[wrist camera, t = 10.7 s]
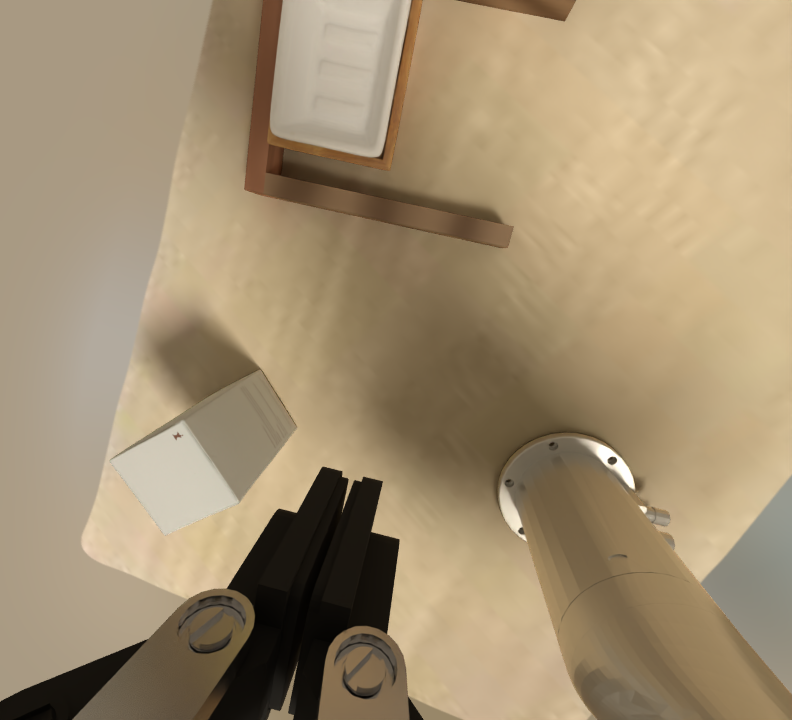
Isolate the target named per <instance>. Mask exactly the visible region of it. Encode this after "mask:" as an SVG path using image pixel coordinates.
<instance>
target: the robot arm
mask: <svg viewBox="0 0 792 720" xmlns="http://www.w3.org/2000/svg"><path fill="white" fill-rule="evenodd" d="M551 442H553V443H552V444H550V443H551ZM508 479H509V480H508ZM382 483H383V481H379V480H375V479H371V478H367V477H363V479H362V482H360V481H356V480H354V482H353V485H352V488H351V490H350V493H349V496H348V498H347V501H346V504H345V506H344V509H343V505H344V500H345V495H346V490H347V485H348V478H344V477H342V471H339V470H335V469H331V468H327V467H322V468H321V470H320V472H319V474H318V475H317V477H316V479H315V481H314V483H313V485H312V486H311V488H310V490H309V492H308V494H307V495H306V497H305V499H304V501H303V503H302V505H301V506H300V508H299V510H298V512H297V513H294V512H290V511H286V510H283V509H278V510H277V511H276V512H275V513H274V515H273V516H272V518H271V520H270V521H269V523H268V524H267V526H266V527H265V529H264V531H263V532H262V534H261V535H260V537H259V539H258V540H257V542H256V543H255V545H254V546H253V548H252V550H251V551H250V553H249V554H248V556H247V557H246V559H245V561H244V562H243V564H242V565H241V567H240V568H239V570H238V572H237V573H236V575H235V576H234V578H233V579H232V581H231V583H230V584H229V586H228V587H227V589H212V590H208V591H204V592H201V593H199V594H197V595H195V596H193V597H191V598H189V599H188V600H187V601H186V602H184V603H183V604H182V605H181V606H180V607H179V608H177V610H176V611H175V612H174V613H173V614H172V615H171V616H170V617H169V618H168V619H167V620H166V621H165V622H164V623H163V624H162V625H161V627H159V629H158V630H157V631H156V632H155V633H154V634H153V635H152V636H151V637H150V638H149V639H147V640H145V641H142V642H140V643H137V644H135V645H132V646H130V647H127V648H125V649H122V650H120V651H118V652H115V653H113V654H110V655H108V656H105V657H103V658H100V659H98V660H95V661H93V662H91V663H88V664H86V665H83V666H81V667H78V668H76V669H73V670H71V671H69V672H66V673H63V674H61V675H58V676H56V677H54V678H51V679H49V680H46V681H44V682H41V683H39V684H37V685H34V686H31V687H29V688H27V689H24V690H22V691H20V692H18V693H16V694H14V695H12V696H10V697H8V698H6V699H4V700H2V701H1V702H0V720H267V719H268V716H269V713H270V710H271V709H275V710H279V711H280V710H281V708H282V706H283V703H284V700H285V697H286V694H287V691H288V688H289V686H290V682H291V680H292V677H293V674H294V671H295V668H296V665H297V663H298V665H297V670H296V675H295V680H294V685H293V690H292V696H291V701H290V706H289V711H288V713H289V714H293V715H294V719H293V720H423V718H422V717H421V715H420V714H419V712H418V711H417V709H416V708H415V706H414V705H413V703H412V702H411V700H410V699H409V697H408V691H407V675H406V666H405V661H404V656H403V654H402V652H401V650H400V648H399V647H398V645H397V644H396V642H395V641H394V640H393V639H392V638H391V637H390V636H389V635H387V631H388V623H389V616H390V609H391V601H392V594H393V586H394V579H395V572H396V564H397V557H398V550H399V539H396V538H392V537H388V536H384V535H380V534H376V533H373V532H371V530H372V526H373V522H374V517H375V513H376V509H377V504H378V500H379V496H380V492H381V487H382ZM497 492H498V502H499V506H500V510H501V513H502V515H503V517H504V520H505V521H506V523H507V524H508V526H509V527H510V529H511V530H512V531H513V532H514V533H515V534H516V535H517V536H518V537H520V538H521V539H523V540H524V541H526V542H527V543H528V546H529V549H530V553H531V556H532V559H533V562H534V566H535V569H536V572H537V575H538V578H539V582H540V585H541V588H542V591H543V595H544V598H545V601H546V604H547V608H548V611H549V614H550V617H551V621H552V624H553V627H554V630H555V633H556V637H557V640H558V643H559V646H560V650H561V653H562V656H563V659H564V663H565V666H566V669H567V672H568V674H569V677H570V679H571V682H572V684H573V686H574V688H575V690H576V691H577V693H578V695H579V697H580V698H581V700H582V701H583V703H584V704H585V706H586V707H587V708H588V710H589V711H590V712H591V714H592V715H593V716H594V717H595V718H596V719H597V720H792V694H791V693H790V692H789V690H788V689H787V688H786V687H785V686H784V685H783V683H782V682H781V681H780V680H779V679H778V678H777V676H776V675H775V674H774V673H773V672H772V671H771V669H770V668H769V667H768V666H767V665H766V664H765V662H764V661H763V660H762V659H761V658H760V657H759V655H758V654H757V653H756V652H755V651H754V649H753V648H752V647H751V646H750V645H749V644H748V642H747V641H746V640H745V639H744V638H743V636H742V635H741V634H740V633H739V632H738V630H737V629H736V628H735V626H734V625H733V624H732V623H731V622H730V620H729V619H728V618H727V617H726V615H725V614H724V613H723V612H722V610H721V609H720V608H719V607H718V605H717V604H716V603H715V602H714V600H713V599H712V598H711V597H710V595H709V594H708V593H707V591H706V590H705V589H704V588H703V587H702V585H701V584H700V583H699V581H698V580H697V579H696V578H695V576H694V575H693V574H692V573H691V571H690V570H689V569H688V568H687V566H686V565H685V564H684V563H683V561H682V560H681V559H680V558H679V556H678V555H677V554H676V553H675V551H674V547H675V544H674V539H673V537H672V536H671V535H670V534H668V533H665V532H661V531H658V530H657V529H656V527H655V526H654V525H653V524H657V525H661V526H668V524H669V523H670V515H669V513H668V512H667V511H666V510H662V509H658V508H654V507H646V506H645V505H644V504H643V503H642V501H641V500H640V499H639V498H638V497H637V495H636V494H635V483H634V478H633V475H632V473H631V471H630V469H629V467H628V465H627V464H626V463H625V461H624V460H623V459H622V457H621V456H620V455H619V454H618V453H617V452H616V451H615V450H614V449H613V448H612V447H610V446H609V445H607V444H606V443H604V442H603V441H601V440H598V439H596V438H594V437H592V436H588V435H584V434H579V433H566V432H565V433H555V434H550V435H546V436H543V437H539V438H537V439H535V440H533V441H531V442H529V443H527V444H525V445H524V446H523V447H521V448H520V449H518V450H517V451H516V452H515V453H514V454H513V455H512V456H511V457H510V459H509V460H508V461H507V463H506V465H505V466H504V468H503V470H502V472H501V475H500V477H499V482H498V488H497ZM342 510H343V512H342ZM341 514H342V515H341ZM652 523H653V524H652Z"/></svg>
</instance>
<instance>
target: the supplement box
mask: <svg viewBox="0 0 792 720" xmlns="http://www.w3.org/2000/svg"><path fill="white" fill-rule="evenodd" d="M296 429H297V427H296V425H295V424H294V422H293V420H292V419H291V417H290V416H289V414H288V412H287V411H286V409H285V408H284V406H283V404H282V403H281V401H280V400H279V398H278V396H277V395H276V393H275V392H274V390H273V388H272V387H271V385H270V384H269V382H268V381H267V379H266V377H265V376H264V374H263V372H262V371H261V370H260V369H259V370H257V371H255V372H253V373H251V374H249V375H248V376H246V377H244V378H242V379H240V380H238V381H236V382H234V383H232V384H230V385H228V386H226V387H224V388H223V389H221V390H219V391H217V392H215V393H214V394H212V395H210V396H208V397H207V398H205V399H203V400H202V401H200V402H199V403H197V404H196V405H194V406H193V407H191V408H190V409H188V410H186V411H185V412H183V413H182V414H180V415H179V416H177V417H175V418H174V419H172V420H171V421H169V422H168V423H166V424H164V425H163V426H161V427H160V428H158V429H156V430H155V431H153V432H152V433H150V434H149V435H147V436H146V437H144V438H142V439H141V440H139V441H138V442H136V443H135V444H133V445H131V446H130V447H128V448H127V449H125V450H124V451H122V452H121V453H119V454H118V455H116V456H115V457H113V458H112V459H110V463H111V464H112V466H113V467H114V468H115V470H116V471H117V472H118V474H119V475H120V476H121V478H122V479H123V480H124V482H125V483H126V484H127V486H128V487H129V488H130V490H131V491H132V492H133V494H134V495H135V496H136V498H137V499H138V500H139V502H140V503H141V504H142V506H143V507H144V508H145V510H146V511H147V512H148V514H149V515H150V517H151V518H152V519H153V521H154V522H155V523H156V525H157V526H158V527H159V529H160V530H161V532H162V533H163V534H164V535H165V536H166V535H168V534H170V533H172V532H174V531H177V530H179V529H181V528H183V527H185V526H187V525H190V524H192V523H194V522H197V521H199V520H201V519H204V518H206V517H208V516H211V515H213V514H216V513H218V512H220V511H223V510H225V509H227V508H230V507H232V506H235V505H237V504H239V503H240V501H241V500H242V499H243V497H244V496H245V494H246V493H247V492H248V490H249V489H250V488H251V486H252V485H253V484H254V482H255V481H256V480H257V479H258V477H259V476H260V475H261V474H262V472H263V471H264V470H265V469H266V467H267V466H268V465H269V464H270V462H271V461H272V460H273V458H274V457H275V456H276V455H277V453H278V452H279V451H280V450H281V448H282V447H283V446H284V445H285V443H286V442H287V441H288V439H289V438H290V437H291V435H292V434H293V433H294V431H295V430H296Z"/></svg>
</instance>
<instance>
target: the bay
mask: <svg viewBox="0 0 792 720" xmlns="http://www.w3.org/2000/svg"><path fill="white" fill-rule="evenodd" d="M458 1H463V2H468V3H473V4H478V5H483V6H489V7H494V8H499V9H504V10H509V11H514V12H520V13H525V14H530V15H535V16H540V17H545V18H551V19H556V20H561V21H565V20H566V18H567V16H568V14H569V12H570V11H571V9H572V7H573V5H574V3H575V1H576V0H458ZM282 3H283V0H263V8H262V18H261V28H260V38H259V48H258V58H257V68H256V78H255V88H254V98H253V108H252V118H251V128H250V138H249V148H248V158H247V168H246V178H245V188H244V190H247V191H250V192H253V193H256V194H259V195H262V196H267V197H271V198H276V199H281V200H285V201H290V202H294V203H299V204H303V205H308V206H312V207H317V208H321V209H326V210H331V211H335V212H340V213H344V214H349V215H353V216H358V217H362V218H367V219H371V220H376V221H381V222H385V223H390V224H394V225H399V226H403V227H408V228H412V229H417V230H421V231H426V232H431V233H435V234H440V235H444V236H449V237H453V238H458V239H462V240H467V241H471V242H476V243H481V244H485V245H490V246H494V247H499V248H508V245H509V242H510V238H511V235H512V231H513V227H514V226H509V225H504V224H500V223H495V222H491V221H486V220H481V219H477V218H472V217H468V216H463V215H458V214H454V213H449V212H445V211H440V210H435V209H431V208H426V207H422V206H417V205H412V204H408V203H403V202H399V201H394V200H389V199H385V198H380V197H376V196H371V195H366V194H362V193H357V192H353V191H348V190H343V189H339V188H334V187H330V186H325V185H320V184H316V183H311V182H306V181H302V180H297V179H293V178H288V177H283V176H281V169H282V160H283V152H284V148H282V147H278V146H273V145H270V144H268V142H267V137H268V127H269V119H270V110H271V100H272V90H273V81H274V72H275V63H276V54H277V45H278V37H279V28H280V20H281V11H282Z"/></svg>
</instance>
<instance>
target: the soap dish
mask: <svg viewBox="0 0 792 720" xmlns="http://www.w3.org/2000/svg"><path fill="white" fill-rule="evenodd" d="M422 1H423V0H283V3H282V11H281V20H280V28H279V37H278V45H277V54H276V63H275V72H274V81H273V90H272V100H271V110H270V119H269V127H268V137H267V142H268V144H270V145H273V146H278V147H282V148H286V149H291V150H295V151H299V152H304V153H308V154H312V155H317V156H321V157H327V158H331V159H336V160H341V161H345V162H350V163H355V164H359V165H364V166H368V167H373V168H378V169H382V170H387V171H390V168H391V163H392V159H393V153H394V148H395V143H396V138H397V133H398V128H399V123H400V117H401V112H402V107H403V101H404V96H405V91H406V86H407V81H408V75H409V70H410V65H411V60H412V54H413V49H414V43H415V38H416V33H417V28H418V23H419V17H420V12H421V6H422Z"/></svg>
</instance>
